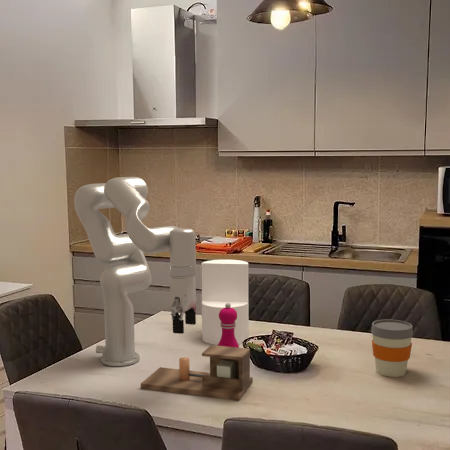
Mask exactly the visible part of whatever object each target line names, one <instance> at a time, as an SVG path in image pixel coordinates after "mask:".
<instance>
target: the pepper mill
mask: <svg viewBox="0 0 450 450" xmlns="http://www.w3.org/2000/svg"><path fill="white" fill-rule="evenodd" d="M225 307H226V308H223V309H221V310H220V312H219V319H220V320H221V323H220V324H221V325H220V327H221V328H222V336H221V339H220V342H219V344H218V345H217V346H226V347H236V348H240V344H238V343H237V340H236V338H235V335H234V328H235V327H236V325H235V324H236V322H235V320H236V319H237V312H236V310H235V309H233V308H231V305H230V303H226V304H225Z"/></svg>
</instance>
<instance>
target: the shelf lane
mask: <svg viewBox="0 0 450 450" xmlns="http://www.w3.org/2000/svg"><path fill="white" fill-rule="evenodd" d="M250 351H251V350H250V348H247V347H239V348H236V347H226V346H218V345H213V344H209V346H208V347H207V348H206V349H205V350H204V351H203V352H202V353H201V356H202V357H206V358H207V357H208V358H209V372H208V371H198V370H190V373H192V374H201V375H203V376H202V377H194V376H190V379H189V380H185V381H184V380H180V375H179V369H178V368H172V367H171V368H170V367H169V368H168V367H161V366H160V367H159V368H157V369H156V370H155V371H154V372H153V373H151V375H149V376H147V377H146V378H145V379H144V380H143V381H142V382H140V389H142V390H149V391H150V390H152V391H159V392H167V393H175V394H181V395H182V394H184V395H191V396H198V397H200V396H201V397H206V398H207V397H208V398H216V399H224V400H232V401H233V400H234V401H241V399H242V398H243V396H244V395H245V393H247V391H248V390H249V388H250V386H251V385H252V384H253V382H254V381H253V377H251V370H250V369H251V368H250V367H251V365H250V364H251V363H250V362H251V359H250V358H251V352H250ZM222 360H228V361H235V379H234V378H225V377H216V376H217V365H218V364H219V363H220V362H221V361H222ZM207 375H210V376H207Z"/></svg>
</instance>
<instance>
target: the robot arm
mask: <svg viewBox="0 0 450 450" xmlns="http://www.w3.org/2000/svg"><path fill="white" fill-rule="evenodd" d="M148 194H149V188H148V185H147V183H146V181H145V180H144V179H143V178H141V177H138V176H125V177H124V176H121V177H113V178H111V179H109V180H107V182H105V183H104V182H102V183H101V182H100V183H99V182H98V183H89V184H85V185H82V186H80V187H79V188H78V189H77V190H76V192H75V194H74V200H73V204H74V211H75V213H76V215H77V217H78V219H79V221H80V223H81V224H82V226H83V228H84V230H85V232H86V235H87V238H88V240H89V243H90V246H91V249H92V251H93V255H94V256H95V259H96V261H97V262H98V264H100V265H102V266H105V265H106V266H108V265H109V266H110V265H115V266H112V267H108V268H106V269H105V270H104V271H102V273H101V274H100V278H99V285H100V290H101V294H102V299H103V309H104V310H103V311H104V313H103V315H104V341H105V344H104V345H105V346H104V345H100V344H99V345H96V346H95V353H96V354H102V356H101V358H100V359H101V360H100V361H101V363H102V364H103V365H105V366H110V367H125V366H131V365H135V364H136V363H138V362H139V360H140V354H139V353H138V352H136V348H135V345H136V344H135V313H134V312H135V311H134V305H133V303H132V301H131V299H130V298H129V296H128V295H129V294H132V293H137V292H140V291H144V290H146V289H148V288H149V287H150V286H151V284H152V273H151V270H150V265H149V264H148V262H147V259H146V256H145V254H147V255H153V254H159V253H167V252H169V268H170V269H169V271H170V273H169V274H170V286H169V310H170V312H171V313H170V315H171V320H172V333H173V334H181V335H183V334H184V333H185V329H184V328H185V326H184V325H185V324H186V325H192V326H193V325H194V326H195V325H196V324H197V318H196V317H197V315H196V314H197V312H196V310H197V307H196V304H197V290H196V289H197V288H196V287H197V286H196V278H195V277H196V276H197V254H196V253H197V252H196V249H197V248H196V247H197V246H196V232H195V230H193V229H192V228H183V227H178V226H175V225H166V226H156V227H147V226H146V225H145V224H144V223H143V222H142V221H143V220H144V219H146V217H147V216H148V215H149V212H150V207H151V206H150V203H149V202H148V200H147V196H148ZM113 208H115V209H116V210H117V211H118V212H119V213H120V214H121V215H122V216H123V217H124V218H125V230H126V233H123V234H116V233H115V230H114V228H113V226H112V223H111V221H110V220H109V218H108V217H107V216H105V214H104V213H102V212H101V211H100V210H102V209H103V210H104V209H113ZM122 263H124V264H122ZM116 264H121V265H116ZM183 318H185V319H183ZM184 321H185V324H184Z"/></svg>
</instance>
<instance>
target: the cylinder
mask: <svg viewBox="0 0 450 450" xmlns="http://www.w3.org/2000/svg"><path fill="white" fill-rule="evenodd" d="M226 303H230V305H231V308H233V309H235V310H236V312H237V319H236V320H235V322H236V324H235V325H236V327H235V328H234V335H235V338H236V340H237V343H238V345H241V344H243V343H242V342H243V341H244V340H245V339H247V338H249V337H250V335H249V333H250V332H249V329H250V328H249V321H250V318H249V316H250V315H249V314H250V313H249V310H250V309H249V262H247V261H245V260H240V259H238V260H237V259H212V260H206V261H202V262H201V340H202V341H203V342H205V343H206V344H209V345H215V346H218V344H219V342H220V339H221V336H222V328H221V327H220V325H221V324H220V323H221V320H220V319H219V312H220V310H221V309H223V308H226V307H225V304H226Z"/></svg>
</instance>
